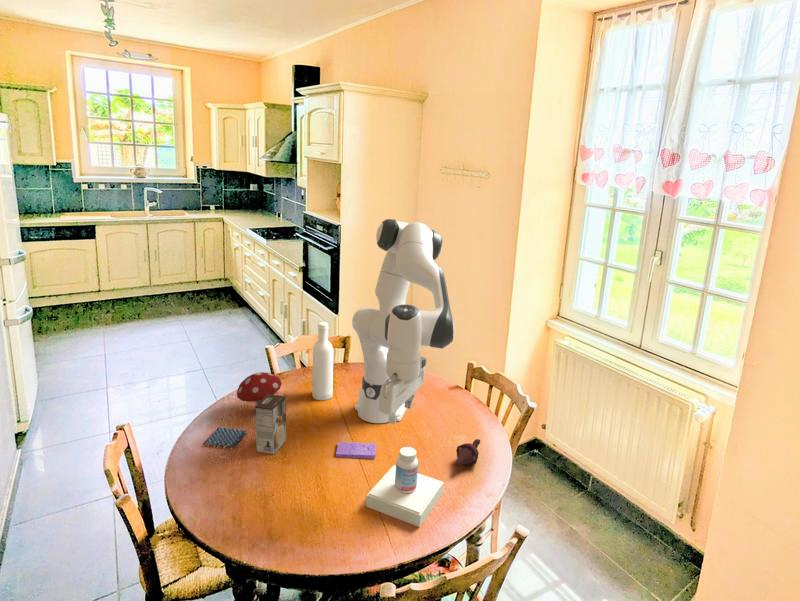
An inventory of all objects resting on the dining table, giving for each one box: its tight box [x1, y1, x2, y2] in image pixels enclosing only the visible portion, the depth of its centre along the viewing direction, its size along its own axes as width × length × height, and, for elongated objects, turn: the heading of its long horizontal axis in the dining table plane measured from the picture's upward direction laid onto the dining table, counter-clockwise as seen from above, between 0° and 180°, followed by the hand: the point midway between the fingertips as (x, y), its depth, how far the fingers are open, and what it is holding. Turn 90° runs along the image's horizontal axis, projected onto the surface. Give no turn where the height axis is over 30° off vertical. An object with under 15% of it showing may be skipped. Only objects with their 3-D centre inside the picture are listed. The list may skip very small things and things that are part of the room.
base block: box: [365, 464, 445, 528], centre depth 141 cm, size 16×16×4 cm
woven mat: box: [203, 426, 248, 450], centre depth 166 cm, size 10×11×2 cm
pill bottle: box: [395, 446, 419, 493], centre depth 139 cm, size 6×6×11 cm
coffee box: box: [254, 394, 287, 455], centre depth 162 cm, size 9×6×16 cm
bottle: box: [311, 321, 334, 401], centre depth 194 cm, size 8×8×30 cm
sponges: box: [335, 441, 377, 460], centre depth 163 cm, size 7×13×2 cm, turn 89°
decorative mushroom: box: [236, 371, 283, 406], centre depth 182 cm, size 16×16×15 cm
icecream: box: [455, 438, 481, 467], centre depth 159 cm, size 7×7×15 cm
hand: (400, 414), depth 137 cm, fingers open, 8 cm apart
